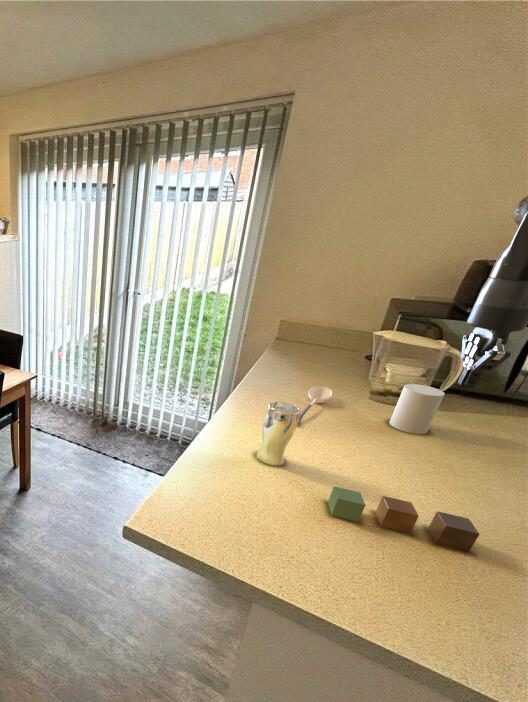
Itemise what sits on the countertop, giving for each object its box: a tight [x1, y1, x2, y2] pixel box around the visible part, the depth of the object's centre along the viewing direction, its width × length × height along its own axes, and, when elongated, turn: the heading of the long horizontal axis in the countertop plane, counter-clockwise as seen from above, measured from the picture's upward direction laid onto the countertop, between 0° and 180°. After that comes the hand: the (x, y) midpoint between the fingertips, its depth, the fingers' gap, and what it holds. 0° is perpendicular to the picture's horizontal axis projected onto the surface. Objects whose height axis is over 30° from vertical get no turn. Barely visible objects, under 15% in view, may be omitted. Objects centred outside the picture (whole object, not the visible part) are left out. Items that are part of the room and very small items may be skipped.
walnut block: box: [427, 510, 480, 553], centre depth 75 cm, size 4×4×4 cm
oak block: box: [375, 495, 419, 534], centre depth 79 cm, size 4×4×4 cm
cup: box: [389, 383, 445, 435], centre depth 112 cm, size 8×8×12 cm
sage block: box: [327, 485, 366, 523], centre depth 82 cm, size 4×4×4 cm
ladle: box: [297, 385, 333, 426], centre depth 125 cm, size 6×28×5 cm, turn 131°
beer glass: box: [256, 401, 301, 466], centre depth 98 cm, size 7×7×15 cm
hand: (465, 385), depth 81 cm, fingers closed
